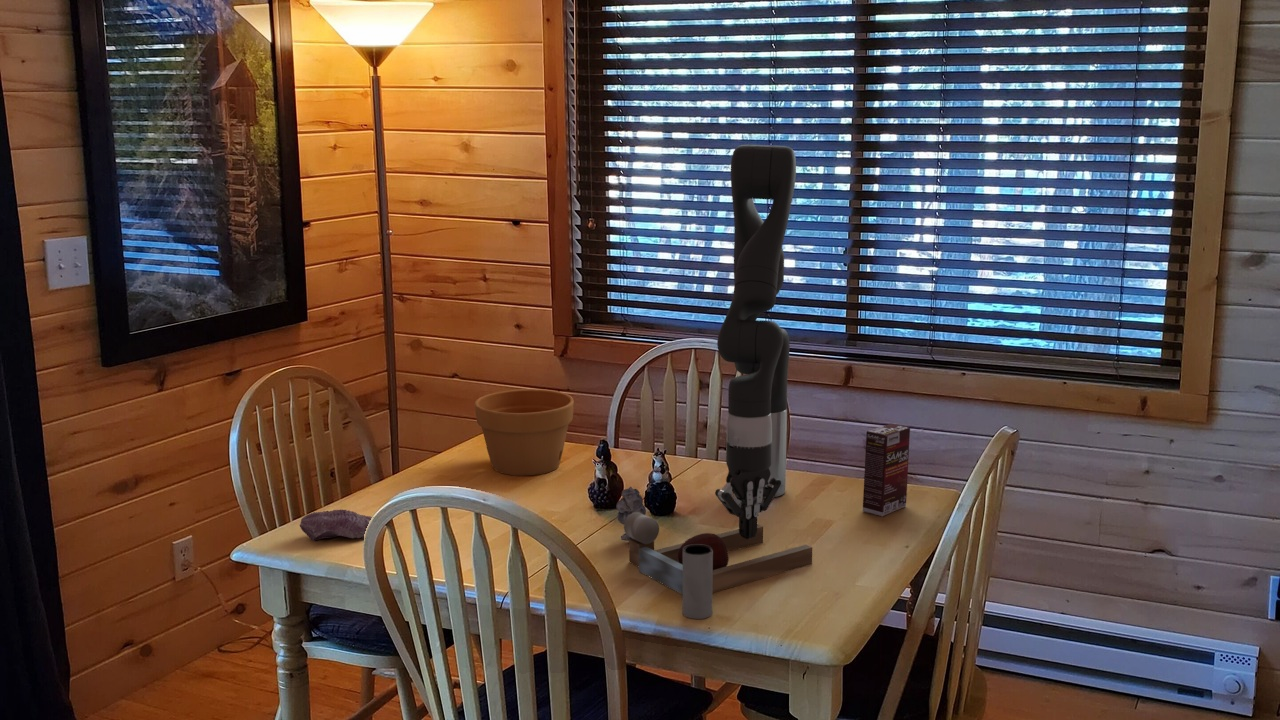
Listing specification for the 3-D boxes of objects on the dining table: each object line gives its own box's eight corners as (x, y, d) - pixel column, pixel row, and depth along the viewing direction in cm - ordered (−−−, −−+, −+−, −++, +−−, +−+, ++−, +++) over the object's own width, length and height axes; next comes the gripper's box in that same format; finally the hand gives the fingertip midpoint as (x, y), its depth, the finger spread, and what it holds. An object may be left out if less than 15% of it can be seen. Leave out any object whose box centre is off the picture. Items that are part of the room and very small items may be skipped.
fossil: (298, 535, 216) (296, 507, 215) (377, 526, 221) (375, 499, 220) (302, 549, 209) (300, 521, 208) (384, 539, 214) (382, 512, 213)
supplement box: (883, 517, 224) (886, 435, 220) (861, 511, 227) (864, 431, 224) (908, 506, 230) (911, 426, 227) (886, 501, 233) (889, 422, 230)
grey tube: (708, 606, 183) (709, 542, 181) (715, 618, 179) (715, 553, 177) (679, 608, 183) (680, 544, 181) (685, 620, 178) (685, 555, 176)
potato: (672, 568, 199) (672, 529, 198) (721, 564, 201) (721, 524, 199) (684, 585, 192) (684, 544, 191) (734, 580, 194) (734, 539, 192)
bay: (622, 562, 202) (621, 515, 200) (739, 532, 216) (740, 488, 214) (690, 599, 186) (690, 548, 185) (811, 564, 200) (813, 516, 199)
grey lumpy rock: (633, 547, 209) (632, 492, 207) (611, 540, 212) (610, 486, 210) (653, 540, 212) (653, 486, 210) (632, 533, 216) (631, 480, 214)
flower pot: (557, 484, 245) (556, 414, 242) (461, 477, 250) (459, 408, 247) (586, 456, 265) (585, 391, 262) (496, 450, 270) (495, 386, 267)
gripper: (765, 427, 204) (763, 522, 208) (703, 440, 197) (703, 539, 201) (794, 437, 198) (792, 535, 202) (732, 451, 191) (731, 552, 195)
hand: (747, 537), depth 201 cm, fingers closed
